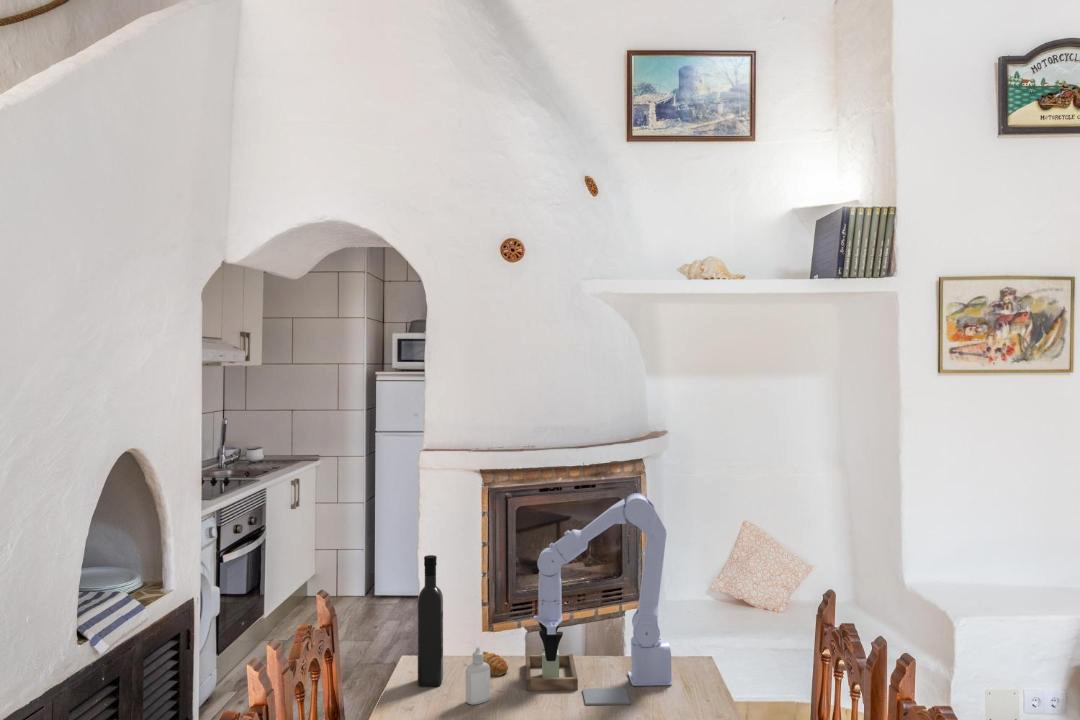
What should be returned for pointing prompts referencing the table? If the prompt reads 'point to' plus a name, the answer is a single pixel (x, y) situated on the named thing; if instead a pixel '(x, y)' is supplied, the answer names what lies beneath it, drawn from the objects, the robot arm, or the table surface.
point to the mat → (605, 696)
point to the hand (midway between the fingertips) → (550, 654)
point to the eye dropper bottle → (477, 680)
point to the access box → (551, 683)
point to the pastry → (495, 663)
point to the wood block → (550, 666)
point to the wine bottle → (430, 628)
